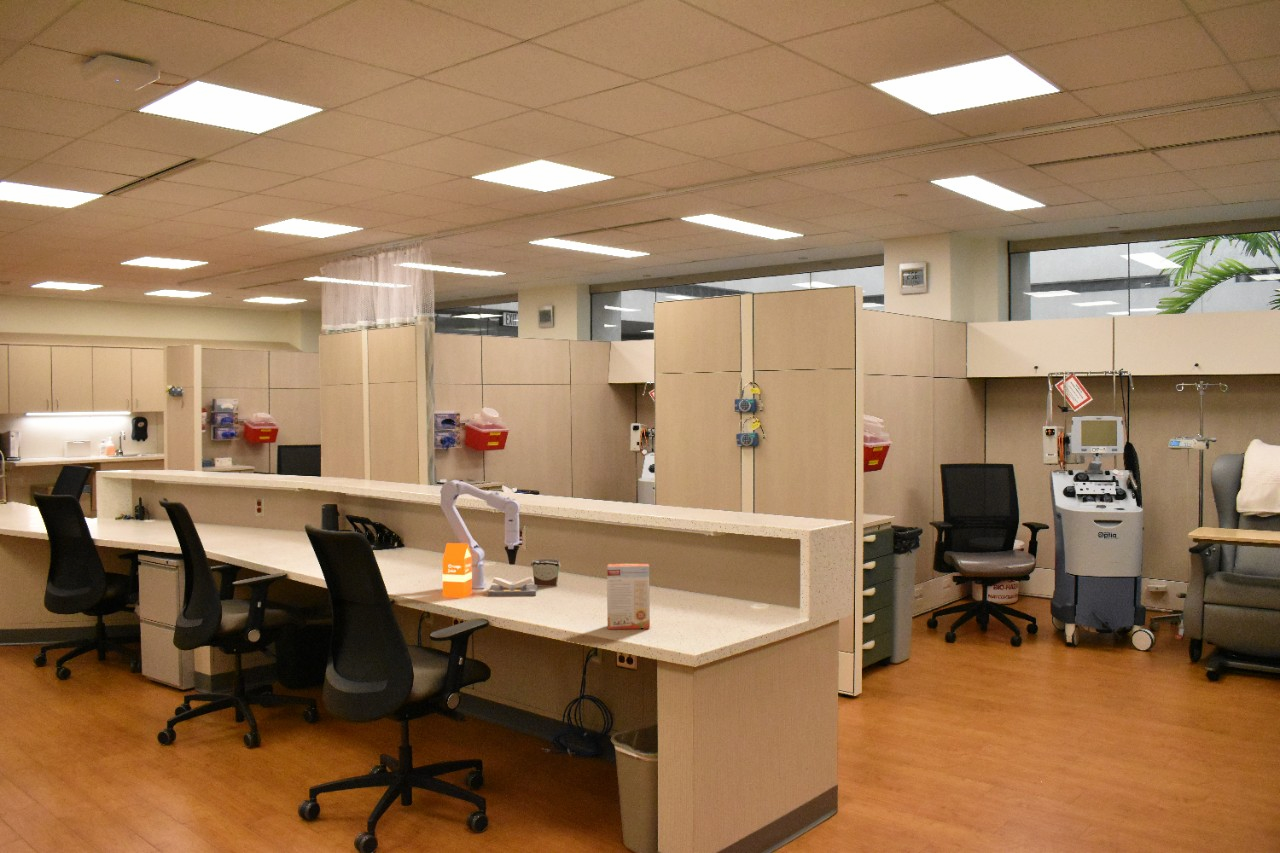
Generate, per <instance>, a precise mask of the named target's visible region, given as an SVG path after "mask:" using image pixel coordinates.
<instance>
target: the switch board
mask: <svg viewBox="0 0 1280 853" xmlns="http://www.w3.org/2000/svg"><path fill="white" fill-rule="evenodd" d="M537 590H538V586H537V585H534V584H527V585H524V586H521V587H518V588H515V585H514V584H511V586H510V589H509V588H506V587H503V586H501V585H498V584H492V585H491V586H490V587H489V589H488V592H487V597H536V594H537V592H538V591H537Z"/></svg>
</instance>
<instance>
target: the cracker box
mask: <svg viewBox="0 0 1280 853" xmlns="http://www.w3.org/2000/svg"><path fill="white" fill-rule="evenodd" d="M606 567H607V571H606V575H607V576H606V579H607V580H606V590H607V591H606V595H607V596H606V598H607V599H606V600H607V603H606V604H607V606H606V608H607V614H606V615H607V616H606V617H607V620H606V621H607V629H608V630H631V629H633V630H646V629H647V630H648V629H650V627H651V626H650V625H651V624H650V623H651V622H650V621H651V620H650V619H651V616H650V615H651V614H650V613H651V610H650V608H651V607H650V604H651V602H650V601H651V600H650V588H651V587H650V564H649V563H608V564H607V565H606ZM641 628H643V629H641Z"/></svg>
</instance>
